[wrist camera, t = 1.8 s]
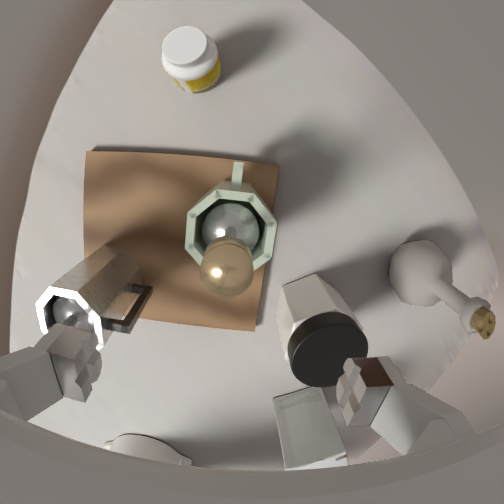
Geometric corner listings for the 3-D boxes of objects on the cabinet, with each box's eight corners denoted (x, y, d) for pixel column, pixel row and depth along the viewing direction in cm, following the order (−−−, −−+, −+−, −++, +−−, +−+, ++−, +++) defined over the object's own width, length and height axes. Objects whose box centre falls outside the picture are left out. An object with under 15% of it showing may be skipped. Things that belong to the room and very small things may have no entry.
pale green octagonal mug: (259, 247, 35) (268, 281, 26) (197, 240, 35) (183, 272, 25) (271, 165, 33) (284, 168, 23) (206, 157, 32) (192, 157, 23)
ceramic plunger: (254, 259, 27) (263, 314, 18) (200, 253, 27) (182, 306, 17) (261, 206, 26) (276, 235, 16) (205, 199, 25) (186, 225, 16)
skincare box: (280, 417, 46) (291, 488, 32) (271, 395, 44) (281, 471, 30) (327, 404, 46) (350, 472, 31) (322, 381, 44) (347, 453, 30)
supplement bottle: (229, 60, 30) (226, 28, 20) (210, 100, 31) (200, 79, 22) (186, 47, 29) (170, 14, 20) (167, 86, 30) (143, 63, 21)
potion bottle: (378, 295, 40) (446, 373, 22) (387, 233, 37) (475, 288, 20) (427, 291, 40) (500, 356, 23) (437, 234, 37) (526, 281, 20)
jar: (285, 339, 41) (299, 399, 29) (264, 291, 38) (275, 345, 27) (345, 316, 40) (377, 368, 29) (330, 265, 38) (365, 309, 26)
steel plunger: (100, 340, 26) (52, 419, 15) (60, 331, 26) (6, 400, 15) (95, 296, 24) (33, 370, 14) (53, 288, 24) (-15, 351, 14)
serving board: (254, 326, 40) (254, 331, 39) (92, 305, 38) (89, 309, 37) (278, 165, 34) (279, 165, 33) (90, 151, 32) (86, 151, 31)
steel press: (158, 304, 37) (129, 368, 25) (92, 294, 36) (45, 348, 24) (159, 251, 35) (122, 299, 23) (89, 242, 34) (32, 282, 22)
